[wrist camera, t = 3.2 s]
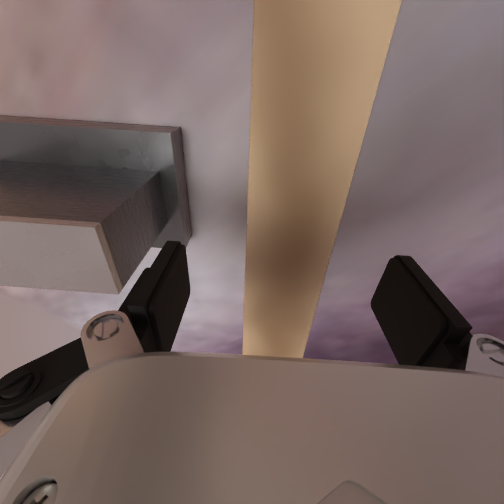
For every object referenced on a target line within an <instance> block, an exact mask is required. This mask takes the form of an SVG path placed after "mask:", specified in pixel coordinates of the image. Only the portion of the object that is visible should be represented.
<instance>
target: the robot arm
mask: <svg viewBox="0 0 504 504" xmlns="http://www.w3.org/2000/svg"><path fill="white" fill-rule="evenodd" d="M189 296H190V282H189V274H188V265H187V256H186V248H185V245H181V242H180V241H166V243H165V244H164V246H163V248H162V249H161V251H160V253H159V254H158V256H157V258H156V259H155V261H154V262H153V264H152V266H151V267H150V268H145V270H144V271H143V272H142V274H141V275H140V277H139V279H138V280H137V282H136V283H135V285H134V286H133V288H132V289H131V291H130V293H129V294H128V296H127V297H126V299H125V300H124V302H123V304H122V305H121V307H120V308H119V310H118V311H106V312H103V313H100V314H98V315H96V316H94V317H93V318H91V319H90V320H89V321H87V323H86V324H85V325H84V326H83V328H82V330H81V338H79V339H77V340H75V341H72V342H70V343H68V344H66V345H64V346H62V347H60V348H58V349H56V350H54V351H52V352H50V353H48V354H46V355H44V356H42V357H40V358H38V359H36V360H33V361H31V362H29V363H27V364H25V365H23V366H21V367H19V368H17V369H15V370H13V371H11V372H10V373H8V374H7V375H5V376H4V377H2V378H1V379H0V477H1V475H2V474H3V473H4V472H5V471H6V470H7V471H6V472H5V474H4V475H3V477H2V478H1V480H0V504H504V342H503V341H501V340H499V339H497V338H494V337H492V336H489V335H484V334H476V335H474V336H472V335H471V333H470V332H469V331H470V330H471V329H472V326H471V325H470V324H469V323H468V322H467V321H466V319H465V318H464V317H463V316H462V315H461V314H460V313H459V311H458V310H457V309H456V308H455V307H454V306H453V304H452V303H451V302H450V301H449V300H448V299H447V297H446V296H445V295H444V294H443V293H442V292H441V291H440V289H439V288H438V287H437V286H436V285H435V284H434V282H433V281H432V280H431V279H430V278H429V277H428V275H427V274H426V273H425V272H424V271H423V270H422V269H421V267H420V266H419V265H418V264H417V263H416V262H415V260H414V259H413V258H412V257H411V256H401V255H396V256H394V257H393V258H391V259H390V260H389V262H388V264H387V266H386V269H385V271H384V273H383V275H382V278H381V280H380V282H379V284H378V286H377V289H376V291H375V293H374V295H373V298H372V300H371V308H372V310H373V312H374V314H375V316H376V318H377V320H378V322H379V324H380V326H381V329H382V331H383V333H384V335H385V337H386V339H387V341H388V343H389V345H390V347H391V349H392V351H393V353H394V355H395V357H396V359H397V361H398V363H399V365H396V364H382V363H367V362H353V361H338V360H322V359H306V358H291V357H274V356H257V355H240V354H223V353H201V352H170V351H171V348H172V345H173V342H174V339H175V336H176V334H177V331H178V328H179V325H180V322H181V319H182V316H183V313H184V310H185V308H186V305H187V302H188V299H189Z"/></svg>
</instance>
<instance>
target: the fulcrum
mask: <svg viewBox="0 0 504 504" xmlns="http://www.w3.org/2000/svg"><path fill="white" fill-rule="evenodd" d="M191 236H192V233H191V223H190V214H189V204H188V194H187V185H186V175H185V165H184V156H183V146H182V136H181V127H169V126H154V125H139V124H124V123H109V122H94V121H79V120H65V119H50V118H35V117H20V116H5V115H0V286H13V287H26V288H39V289H53V290H66V291H79V292H93V293H106V294H119V293H120V292H121V290H122V289H123V287H124V286H125V284H126V283H127V281H128V280H129V279H130V277H131V276H132V274H133V273H134V271H135V270H136V268H137V267H138V265H139V264H140V262H141V261H142V260H143V258H144V257H145V255H146V254H147V252H148V251H149V249H150V248H151V247H157V248H163V246H164V244H165V243H166V241H180V242H181V245H185V248H186V247H187V245H188V242H189V240H190V238H191Z"/></svg>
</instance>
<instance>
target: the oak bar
mask: <svg viewBox="0 0 504 504" xmlns="http://www.w3.org/2000/svg"><path fill="white" fill-rule="evenodd" d="M401 2H402V0H254V24H253V54H252V84H251V115H250V145H249V176H248V206H247V236H246V267H245V297H244V327H243V355H257V356H274V357H291V358H302V357H303V354H304V350H305V346H306V343H307V339H308V336H309V332H310V329H311V325H312V321H313V318H314V314H315V311H316V307H317V303H318V300H319V296H320V293H321V289H322V285H323V282H324V278H325V275H326V271H327V268H328V264H329V260H330V257H331V253H332V250H333V246H334V242H335V239H336V235H337V232H338V228H339V224H340V221H341V217H342V214H343V210H344V207H345V203H346V199H347V196H348V192H349V189H350V185H351V181H352V178H353V174H354V171H355V167H356V163H357V160H358V156H359V153H360V149H361V146H362V142H363V138H364V135H365V131H366V128H367V124H368V120H369V117H370V113H371V110H372V106H373V102H374V99H375V95H376V92H377V88H378V84H379V81H380V77H381V74H382V70H383V67H384V63H385V59H386V56H387V52H388V49H389V45H390V41H391V38H392V34H393V31H394V27H395V23H396V20H397V16H398V13H399V9H400V6H401Z"/></svg>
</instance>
